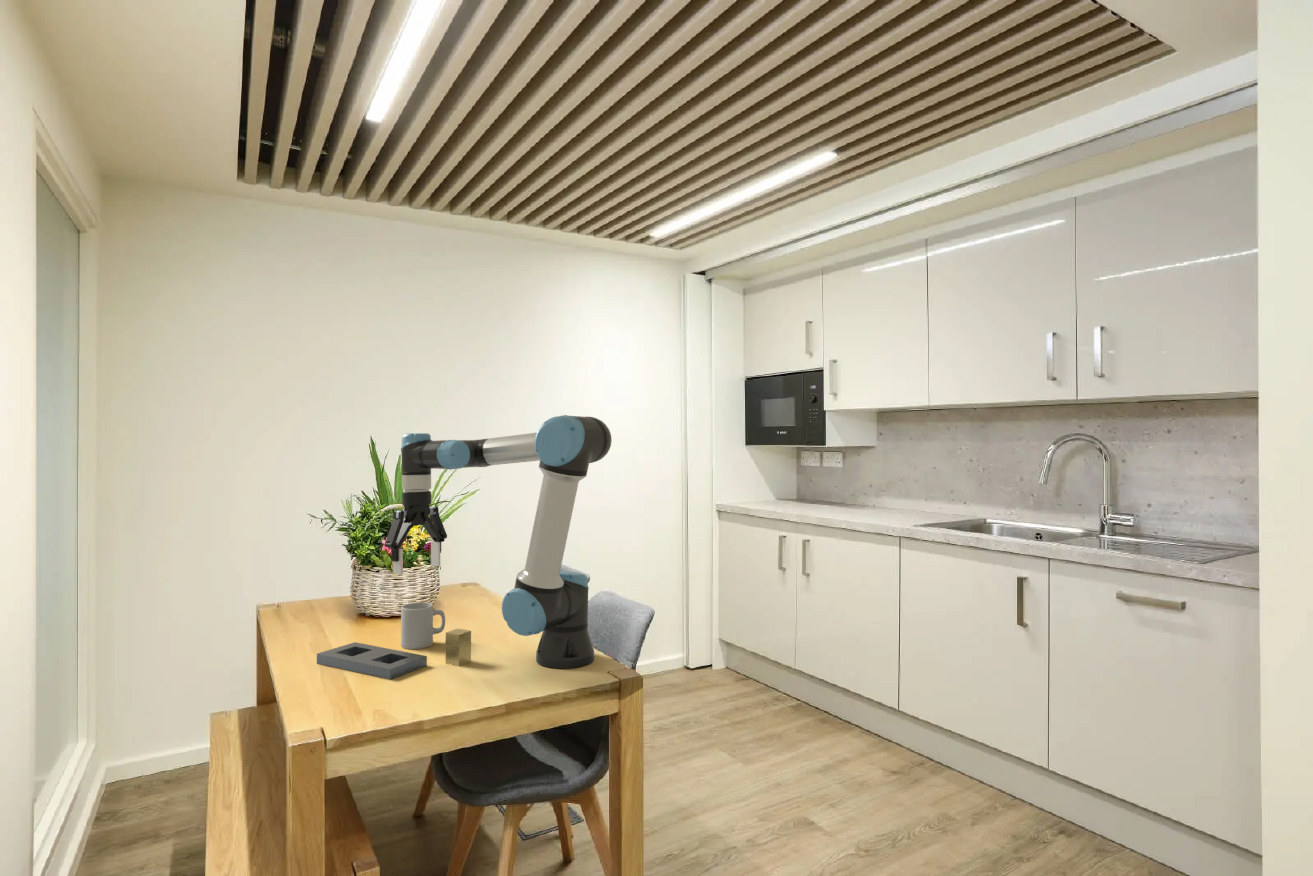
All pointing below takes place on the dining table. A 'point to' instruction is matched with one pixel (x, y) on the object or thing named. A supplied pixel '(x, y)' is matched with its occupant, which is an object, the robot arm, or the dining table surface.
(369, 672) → the square hole plate
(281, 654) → the dining table surface
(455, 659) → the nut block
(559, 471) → the robot arm
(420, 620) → the mug
